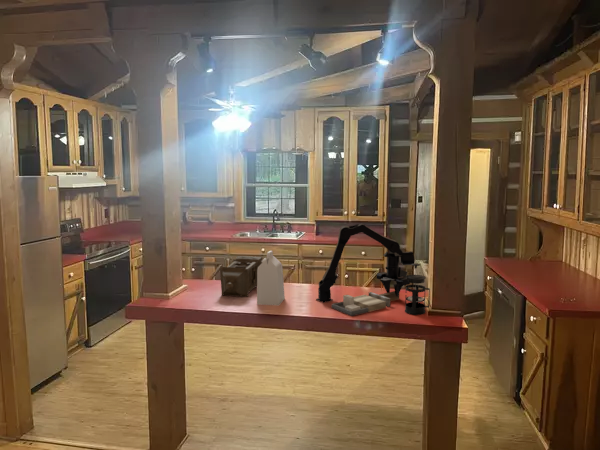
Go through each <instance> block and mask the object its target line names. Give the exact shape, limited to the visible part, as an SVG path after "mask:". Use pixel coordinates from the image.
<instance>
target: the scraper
mask: <svg viewBox="0 0 600 450" xmlns="http://www.w3.org/2000/svg"><path fill="white" fill-rule="evenodd" d="M368 296H371V297H374V298H376V299H379V300H382V301H385V302H386V307H387V308H388V307H391V302H393V301H398V300H400V294H399V295H398V296H397V297H396V294H395V290H393V291H390V292H388V293H387V292H384V293H380V294H378V293H375V292H372V291H369V292H368Z"/></svg>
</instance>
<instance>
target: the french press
mask: <svg viewBox="0 0 600 450" xmlns="http://www.w3.org/2000/svg"><path fill="white" fill-rule="evenodd" d="M410 266H412V267H414V269H415V271H414V272H415V273H414V274H407V276H406V278H407V280H408V282H409V283H410V284H408V285H405V292H410V293H412V294H411V295H410V296H405V301H404V302H405V308H404V313H406V314H407V315H408V314H409V315H410V316H411V315H412V316H422V315H425V314H426V308H430V300H431V299H430V293H431V291H430V290H431V289H430V287H426V286H424V285H421V284H423V283H425V282H426V281H425V279H426V276H425V275H421V274H417V268H418V267H419V266H421V264H420V263H415V262H414V264H411V265H410ZM419 288H420V289H419ZM426 290H428V298H427V299H428V302H427V303H428V305H426V293H425V292H426ZM423 292H424V297H422V296H419V293H423Z"/></svg>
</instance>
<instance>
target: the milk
mask: <svg viewBox="0 0 600 450" xmlns="http://www.w3.org/2000/svg"><path fill="white" fill-rule="evenodd" d="M261 262H262V264H261V265H260V266H259V267H258V269H257V287H256V305H259V306H280V305H281V304H282V302H283V301H284V300H285V297H286V296H285V283H284V272H283V271H284V270H283V263H282V262H281V261H280V260H279V259H278V258H277V257H276V256H274V251H273V250H269V251H267V252H266V257H264V258H262V261H261Z"/></svg>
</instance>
